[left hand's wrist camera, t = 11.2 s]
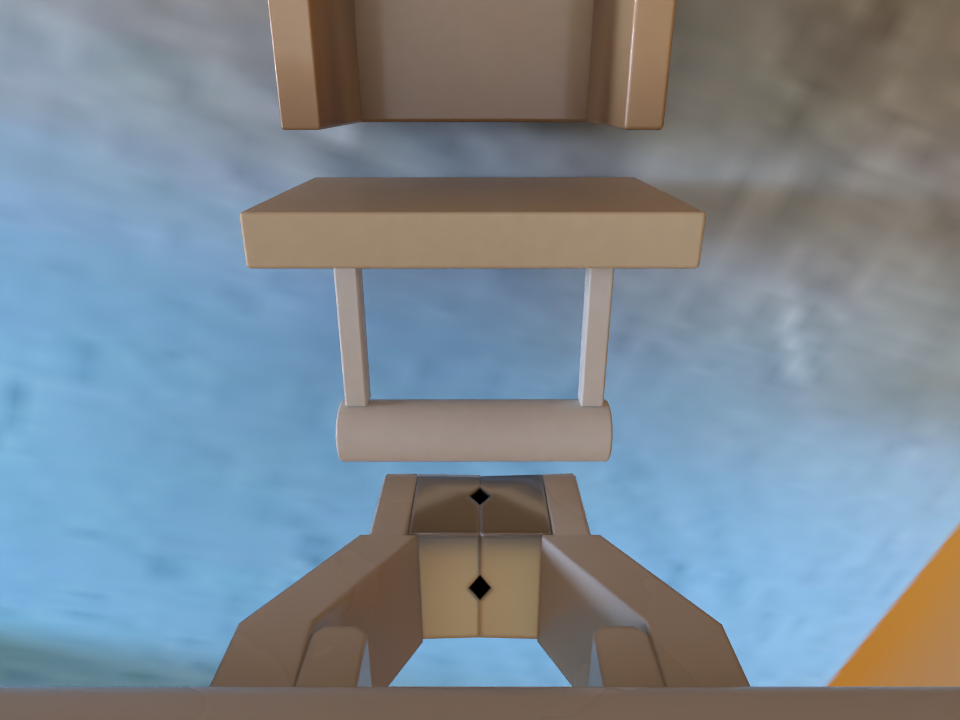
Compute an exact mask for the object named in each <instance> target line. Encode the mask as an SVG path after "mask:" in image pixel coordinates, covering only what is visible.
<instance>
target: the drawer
mask: <svg viewBox="0 0 960 720" xmlns="http://www.w3.org/2000/svg"><path fill="white" fill-rule="evenodd" d="M675 6H676V0H268V9H269V18H270V28H271V37H272V46H273V55H274V64H275V73H276V83H277V92H278V101H279V110H280V119H281V127H282V129H284V130H320V129H325V128H331V127H336V126H342V125H347V124H353V123H358V122H591V123H596V124H601V125H606V126H612V127H617V128H622V129H627V130H659V129H662V127H663V125H664V115H665V105H666V95H667V85H668V75H669V65H670V55H671V45H672V35H673V25H674V16H675ZM705 218H706V215H705V213H704V212H702V211H700V210H698V209H696V208H694V207H692V206H690V205H688V204H686V203H684V202H682V201H680V200H678V199H676V198H674V197H672V196H670V195H668V194H666V193H664V192H662V191H660V190H658V189H656V188H654V187H652V186H650V185H648V184H646V183H644V182H642V181H640V180H638V179H636V178H634V177H592V178H313V179H311V180H309V181H307V182H305V183H303V184H301V185H298V186H296V187H294V188H292V189H290V190H288V191H286V192H284V193H282V194H279V195H277V196H275V197H273V198H271V199H269V200H267V201H265V202H262V203H260V204H258V205H256V206H254V207H252V208H250V209H248V210H245V211H243V212H241V213H240V223H241V230H242V237H243V244H244V251H245V259H246V265H247V267H248V268H333V269H334V280H335V292H336V303H337V315H338V326H339V338H340V349H341V361H342V372H343V383H344V395H345V400H342V401H341V403H340V406H339V409H338V413H337V420H336V446H337V452H338V456H339V459H340V460H341V461H343V462H540V461H608V459H609V457H610V454H611V449H612V417H611V411H610V407H609V404H608V402H607V401H606V400H604V388H605V376H606V363H607V351H608V338H609V326H610V313H611V300H612V288H613V275H614V268H697V267H698V266H699V264H700V256H701V249H702V241H703V233H704V226H705ZM362 268H586V276H585V292H584V307H583V323H582V339H581V355H580V371H579V387H578V398H579V399H377V400H370V397H371V393H370V379H369V365H368V351H367V337H366V323H365V308H364V294H363V280H362Z"/></svg>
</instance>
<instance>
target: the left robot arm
mask: <svg viewBox="0 0 960 720" xmlns="http://www.w3.org/2000/svg"><path fill="white" fill-rule="evenodd" d="M469 637H489V638H526V639H538V641H537V642H538V643H539V644H540V645H541V647H542V648H543V649H544V651H545V652H546V653H547V654H548V656H549V657H550V658H551V660H552V661H553V662H554V663H555V665H556V666H557V667H558V669H559V670H560V671H561V672H562V674H563V675H564V676H565V678H566V679H567V680H568V681H569V683H570V684H571V685H572V687H388V686H389V684H390V683H391V682H392V681H393V679H394V678H395V677H396V676H397V674H398V673H399V672H400V670H401V669H402V668H403V667H404V665H405V664H406V663H407V661H408V660H409V659H410V658H411V656H412V655H413V654H414V652H415V651H416V650H417V649H418V647H419V646H420V645H421V643H422V642H423V640H422V639H434V638H469ZM0 720H960V687H750V685H749V683H748V680H747V678H746V676H745V674H744V672H743V670H742V667H741V665H740V663H739V661H738V659H737V657H736V654H735V652H734V650H733V648H732V646H731V644H730V641H729V639H728V637H727V635H726V633H725V631H724V628H723V626H722V624H720V623H719V622H718V621H716V620H715V619H714V618H712V617H711V616H709V615H708V614H707V613H705V612H704V611H703V610H701V609H700V608H699V607H697V606H696V605H694V604H693V603H692V602H690V601H689V600H688V599H686V598H685V597H684V596H682V595H681V594H680V593H678V592H677V591H675V590H674V589H673V588H671V587H670V586H669V585H667V584H666V583H665V582H663V581H662V580H660V579H659V578H658V577H656V576H655V575H654V574H652V573H651V572H650V571H648V570H647V569H645V568H644V567H643V566H641V565H640V564H639V563H637V562H636V561H635V560H633V559H632V558H630V557H629V556H628V555H626V554H625V553H624V552H622V551H621V550H620V549H618V548H617V547H615V546H614V545H613V544H611V543H610V542H609V541H607V540H606V539H605V538H603V537H602V536H600V535H591V534H590V530H589V526H588V523H587V519H586V515H585V511H584V507H583V504H582V500H581V496H580V492H579V488H578V484H577V481H576V477H575V476H574V475H573V474H549V475H513V476H480V475H430V474H419V475H417V474H387V475H386V476H385V478H384V480H383V484H382V488H381V491H380V495H379V499H378V503H377V507H376V511H375V515H374V519H373V522H372V526H371V530H370V534H369V535H360V536H358V537H357V538H355V539H354V540H353V541H351V542H350V543H349V544H347V545H346V546H345V547H343V548H342V549H340V550H339V551H338V552H336V553H335V554H334V555H332V556H331V557H329V558H328V559H327V560H325V561H324V562H323V563H321V564H320V565H318V566H317V567H316V568H314V569H313V570H312V571H310V572H309V573H308V574H306V575H305V576H303V577H302V578H301V579H299V580H298V581H297V582H295V583H294V584H292V585H291V586H290V587H288V588H287V589H286V590H284V591H283V592H282V593H280V594H279V595H277V596H276V597H275V598H273V599H272V600H271V601H269V602H268V603H266V604H265V605H264V606H262V607H261V608H260V609H258V610H257V611H256V612H254V613H253V614H251V615H250V616H249V617H247V618H246V619H245V620H243V621H242V622H240V623H239V625H238V627H237V629H236V631H235V633H234V635H233V638H232V640H231V642H230V644H229V646H228V648H227V650H226V653H225V655H224V657H223V659H222V661H221V663H220V665H219V667H218V670H217V672H216V674H215V676H214V678H213V680H212V682H211V685H210V687H0Z"/></svg>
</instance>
